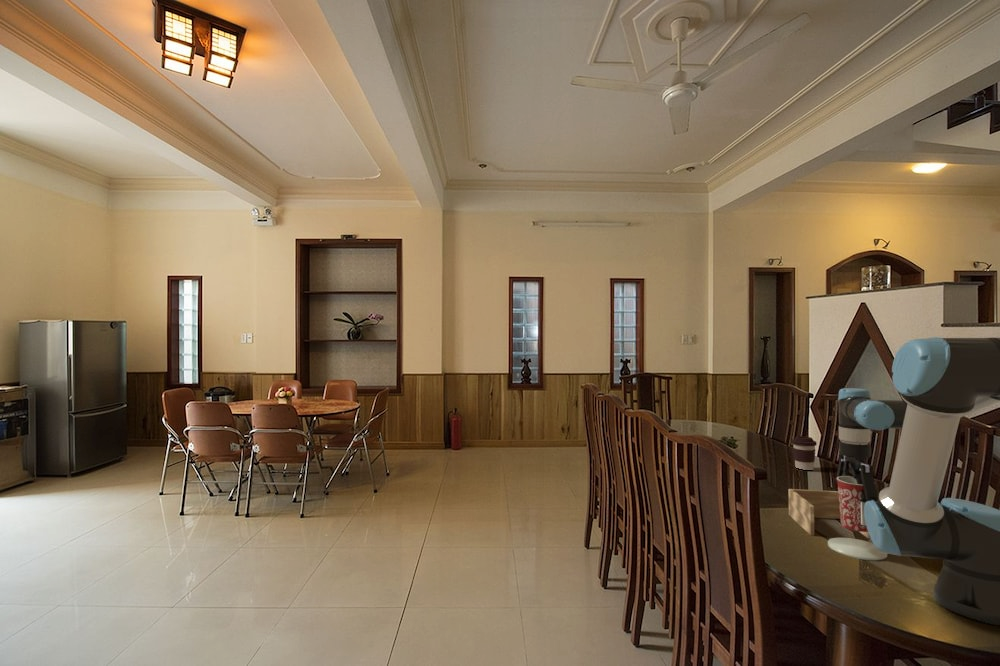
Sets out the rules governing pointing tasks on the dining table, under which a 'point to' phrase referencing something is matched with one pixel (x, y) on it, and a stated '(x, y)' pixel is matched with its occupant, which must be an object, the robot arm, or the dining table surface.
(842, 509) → the mug
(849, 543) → the disc
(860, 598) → the dining table surface
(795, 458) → the coffee cup
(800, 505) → the crate
